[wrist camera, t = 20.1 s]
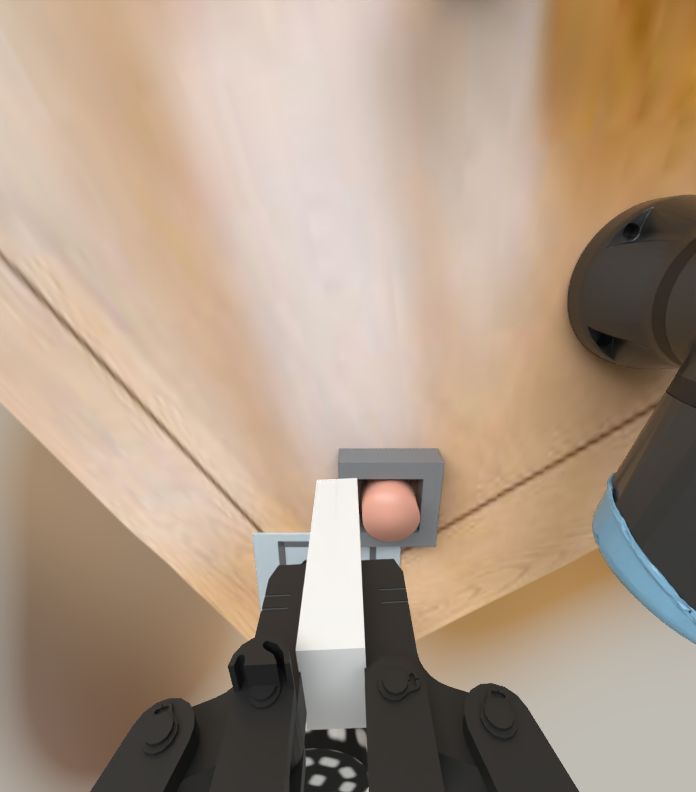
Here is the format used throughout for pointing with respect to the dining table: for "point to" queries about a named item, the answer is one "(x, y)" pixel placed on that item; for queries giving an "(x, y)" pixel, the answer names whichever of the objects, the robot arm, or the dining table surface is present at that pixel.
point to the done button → (389, 509)
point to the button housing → (400, 466)
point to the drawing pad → (297, 554)
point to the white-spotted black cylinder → (336, 759)
